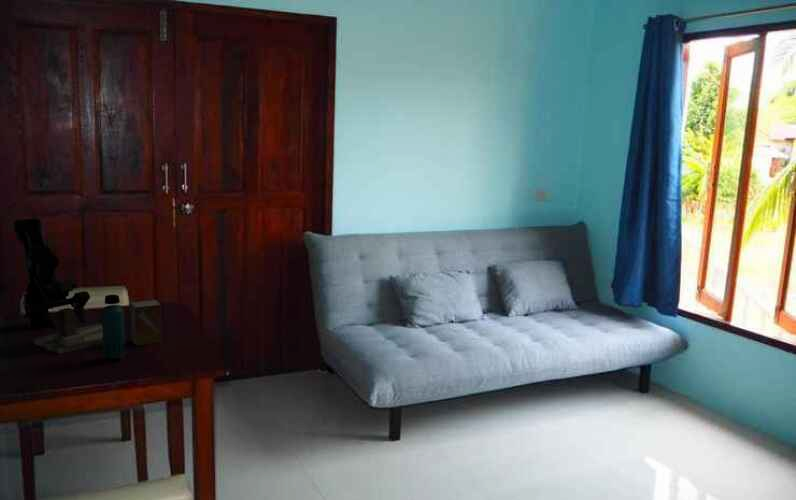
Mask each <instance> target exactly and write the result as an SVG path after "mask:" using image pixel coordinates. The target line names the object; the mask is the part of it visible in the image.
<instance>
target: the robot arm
mask: <svg viewBox="0 0 796 500" xmlns="http://www.w3.org/2000/svg"><path fill="white" fill-rule="evenodd" d="M42 231H43V225H42V220H40V219H37V218H24V219H16V220H15V221H14V222H12V232H13V234H15V239H16V240H17V242H19V243H20V245H22V250H23V254H24V255H23V256H24V260H25V261H24V262H25V266H26V267H25V269H26V273H27V279H28V284H27V286H26V289H25V294H24V295H23V299H22V307H23V310H24V313H25V316H26V318H28V319H29V323H28V324H25V327H26V328H29V329H32V330H37V331H38V330H40V329H44V328H45V329H47V328H51V329H52V330H53V331H56V330H57V325H56V323H55V322H54V320H53V318H52V317H51V315H50V313H49V310H52V309H54V308H59V307H64V306H65V307H66V306H69V305H70V307H72V309H74V311H75V317H77V319H78V320H79V322H80V323H81V324H82V325H83V324H85V323H86V318H85V306H86V305H87V303H88V302H89V300H90V299H91V295H90V293H89V292H88V291H85V290H84V291H79V292H74V294H73V296H72V297H69V295H70V292H73V291H74V289H76V288H77V287H78V284H77V281H76V280H75V278H74V277H73V278H68V279H66V280H65V281H62V282H61V281H60V282H59V281H58V280H57V278H56V276H57V271H58V268H59V264H60V262H59V261H60V260H59V259H58V258H57V257H56V255H55V254H54V253H53V252H52V250H51V248H50V247H48V246H47V245H45V242H44V238H43V235H42ZM68 297H69V298H68ZM51 329H50V330H51Z"/></svg>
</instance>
